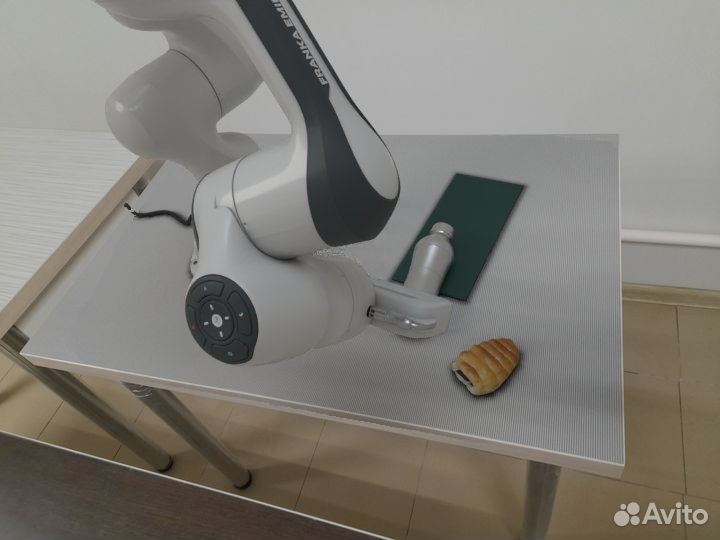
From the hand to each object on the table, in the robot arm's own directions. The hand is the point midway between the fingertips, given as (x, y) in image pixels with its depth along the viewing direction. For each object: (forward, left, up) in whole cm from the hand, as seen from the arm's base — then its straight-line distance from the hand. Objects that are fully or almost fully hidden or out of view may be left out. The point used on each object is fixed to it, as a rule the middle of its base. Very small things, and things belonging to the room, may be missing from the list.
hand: (389, 288), depth 65 cm
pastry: (+11, -1, -17) cm, 20 cm away
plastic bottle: (0, +3, -13) cm, 14 cm away
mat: (+7, +26, -16) cm, 31 cm away
